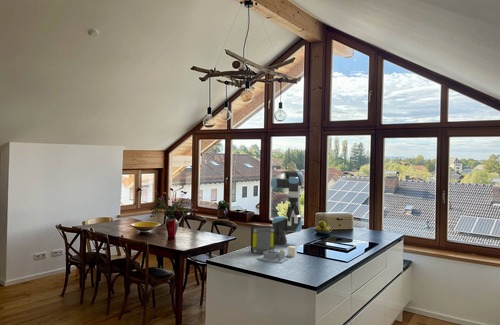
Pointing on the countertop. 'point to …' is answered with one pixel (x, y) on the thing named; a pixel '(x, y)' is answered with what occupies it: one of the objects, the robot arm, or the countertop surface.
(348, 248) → the countertop surface
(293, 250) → the plug
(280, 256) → the header board
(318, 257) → the countertop surface
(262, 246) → the electrical component
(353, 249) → the countertop surface
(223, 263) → the countertop surface
